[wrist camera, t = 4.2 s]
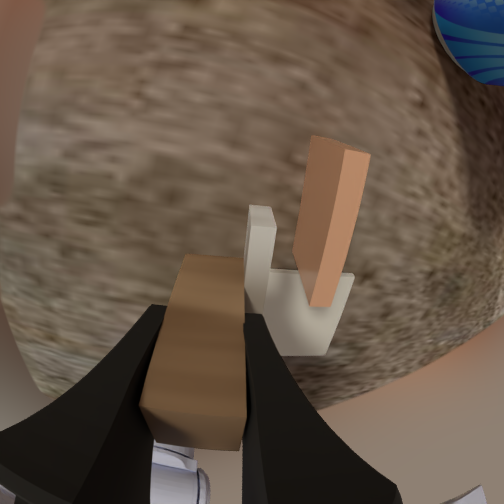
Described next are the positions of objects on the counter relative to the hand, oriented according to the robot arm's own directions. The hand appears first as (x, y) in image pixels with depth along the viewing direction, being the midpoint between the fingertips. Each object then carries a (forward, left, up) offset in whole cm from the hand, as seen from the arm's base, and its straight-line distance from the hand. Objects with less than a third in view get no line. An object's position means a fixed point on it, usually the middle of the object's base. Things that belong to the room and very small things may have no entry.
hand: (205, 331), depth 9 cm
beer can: (+18, -16, -10) cm, 26 cm away
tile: (+2, -5, -10) cm, 12 cm away
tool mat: (-8, -5, -10) cm, 14 cm away
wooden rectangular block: (0, 0, -3) cm, 3 cm away
